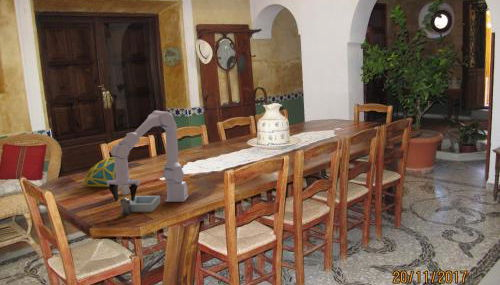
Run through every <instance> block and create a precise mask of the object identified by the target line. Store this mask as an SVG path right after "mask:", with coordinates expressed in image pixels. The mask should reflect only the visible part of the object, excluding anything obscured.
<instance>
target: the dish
mask: <svg viewBox="0 0 500 285" xmlns="http://www.w3.org/2000/svg"><path fill="white" fill-rule="evenodd" d="M160 204H161V196H160V195H135V200H134V201H132V200H130V207H131V213H134V212H135V213H141V212H142V213H143V212H144V213H149V212H150V213H152V212H154V211H155V210H156V208H158V206H159V205H160Z"/></svg>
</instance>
